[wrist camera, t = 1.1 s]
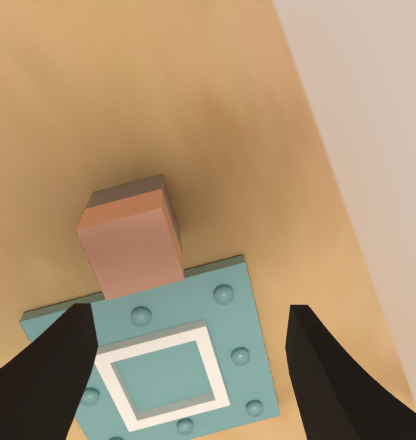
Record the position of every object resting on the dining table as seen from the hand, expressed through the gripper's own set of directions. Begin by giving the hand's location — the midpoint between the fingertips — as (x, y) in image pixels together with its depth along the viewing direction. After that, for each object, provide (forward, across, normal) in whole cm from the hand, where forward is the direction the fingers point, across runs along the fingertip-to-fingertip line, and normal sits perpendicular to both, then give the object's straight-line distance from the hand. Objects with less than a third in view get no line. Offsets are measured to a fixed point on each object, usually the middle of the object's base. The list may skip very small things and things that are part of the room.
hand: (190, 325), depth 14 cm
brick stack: (+12, +4, +1) cm, 12 cm away
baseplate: (+11, +3, +14) cm, 18 cm away
